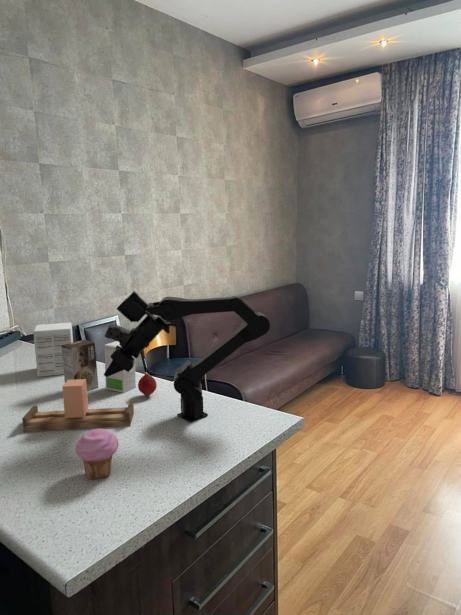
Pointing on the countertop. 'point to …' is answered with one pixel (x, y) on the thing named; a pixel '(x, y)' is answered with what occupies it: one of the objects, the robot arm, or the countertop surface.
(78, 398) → the block
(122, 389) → the skincare box
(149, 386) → the onion
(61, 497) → the countertop surface
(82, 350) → the coffee box
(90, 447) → the cupcake
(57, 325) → the supplement box
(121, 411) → the wooden slide track
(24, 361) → the countertop surface
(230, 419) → the countertop surface
